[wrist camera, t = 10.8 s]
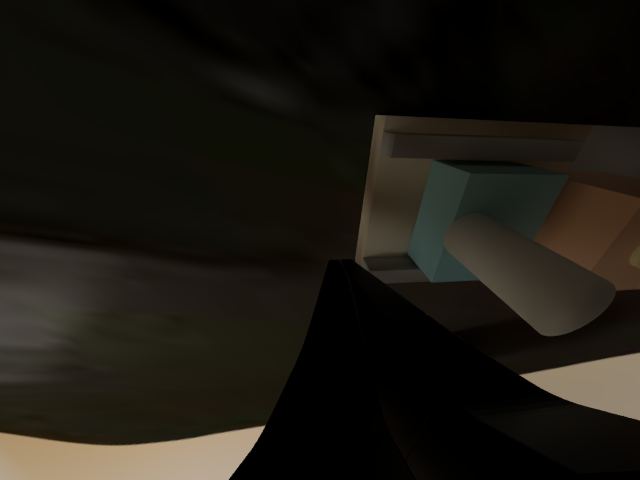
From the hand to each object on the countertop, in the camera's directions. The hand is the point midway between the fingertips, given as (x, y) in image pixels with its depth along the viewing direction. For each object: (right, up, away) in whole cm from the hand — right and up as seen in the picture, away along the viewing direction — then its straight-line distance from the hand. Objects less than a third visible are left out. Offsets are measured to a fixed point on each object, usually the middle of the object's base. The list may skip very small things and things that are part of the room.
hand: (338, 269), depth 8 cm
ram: (+8, +3, +6) cm, 10 cm away
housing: (+14, +3, +7) cm, 16 cm away
